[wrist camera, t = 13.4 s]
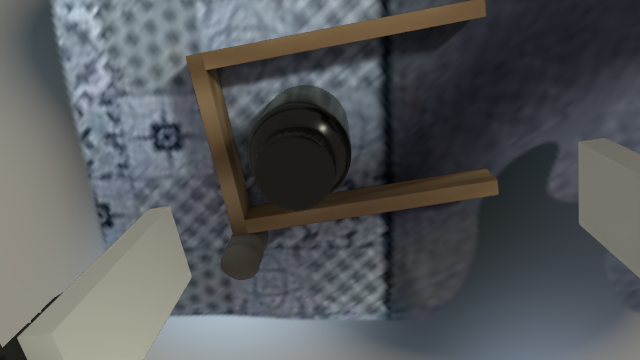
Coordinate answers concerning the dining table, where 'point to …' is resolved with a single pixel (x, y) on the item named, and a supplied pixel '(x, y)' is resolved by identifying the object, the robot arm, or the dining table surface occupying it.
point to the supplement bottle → (300, 148)
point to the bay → (257, 220)
